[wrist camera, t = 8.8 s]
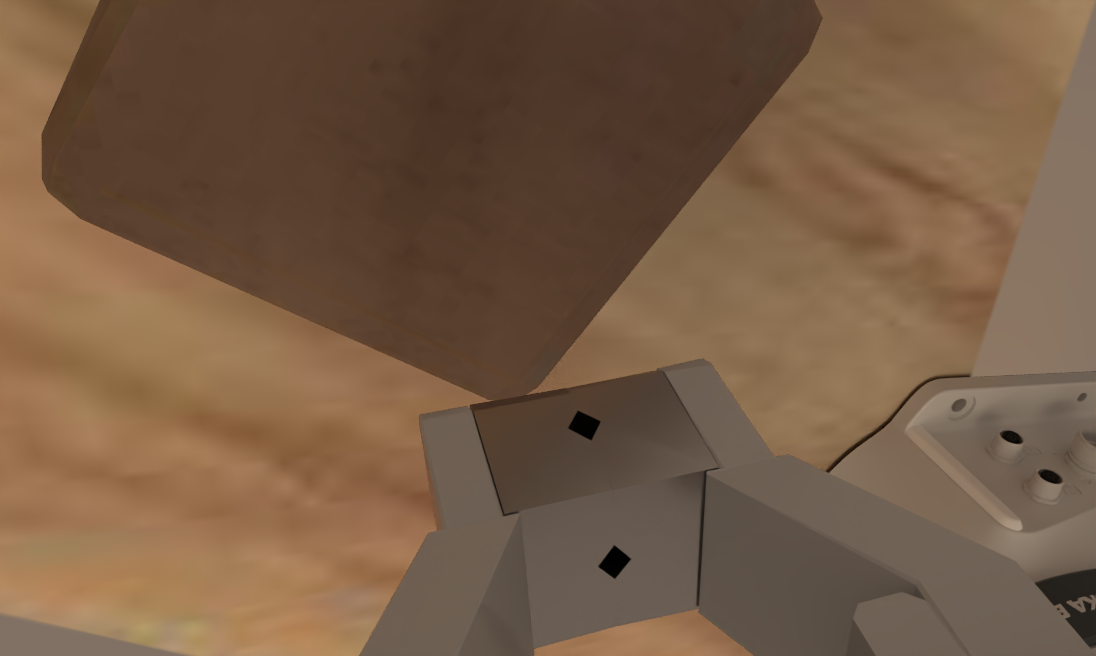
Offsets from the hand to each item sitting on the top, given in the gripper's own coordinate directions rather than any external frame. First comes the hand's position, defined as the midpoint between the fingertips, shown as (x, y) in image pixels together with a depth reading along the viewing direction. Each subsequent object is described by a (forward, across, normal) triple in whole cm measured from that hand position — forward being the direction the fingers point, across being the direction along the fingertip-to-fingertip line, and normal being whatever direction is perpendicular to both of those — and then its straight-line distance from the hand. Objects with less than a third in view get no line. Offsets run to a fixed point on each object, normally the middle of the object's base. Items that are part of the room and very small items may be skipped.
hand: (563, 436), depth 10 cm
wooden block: (+28, 0, +1) cm, 28 cm away
